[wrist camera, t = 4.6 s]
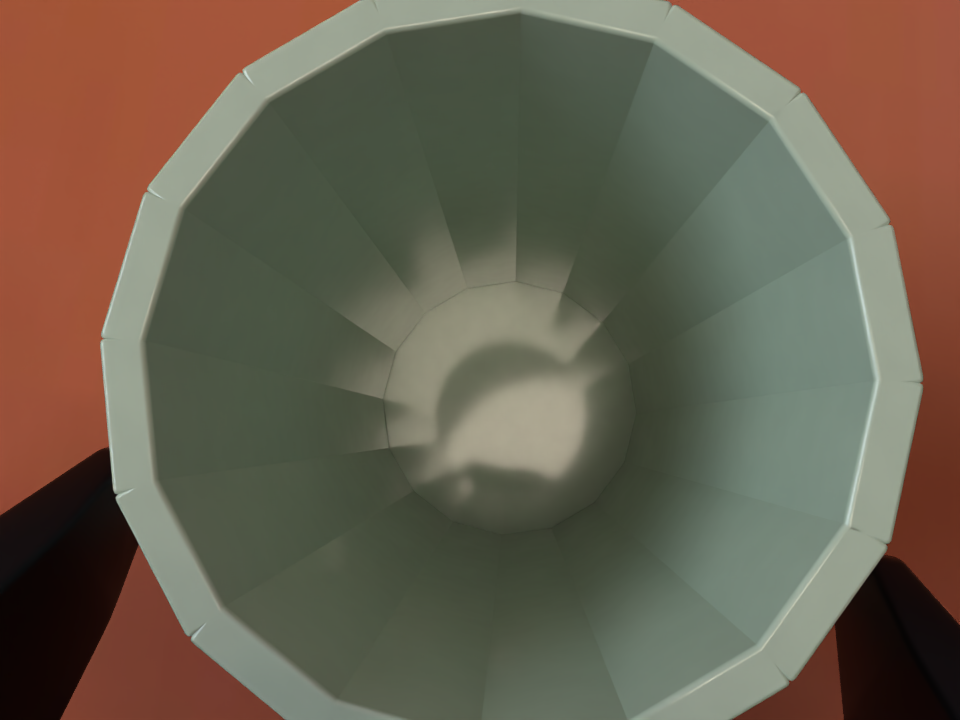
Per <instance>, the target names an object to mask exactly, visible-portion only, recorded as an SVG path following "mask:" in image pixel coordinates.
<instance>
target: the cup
mask: <svg viewBox="0 0 960 720" xmlns="http://www.w3.org/2000/svg"><path fill="white" fill-rule="evenodd" d="M800 92H801V89H800V88H799V87H798V86H796V85H795V84H793V83H792V82H790V81H789V80H787V79H786V78H785V77H783V76H782V75H780V74H779V73H777V72H776V71H774V70H773V69H771V68H770V67H768V66H767V65H765V64H764V63H762V62H761V61H759V60H758V59H756V58H755V57H753V56H752V55H750V54H749V53H747V52H746V51H745V50H743V49H742V48H740V47H739V46H737V45H736V44H734V43H733V42H731V41H730V40H728V39H727V38H725V37H724V36H722V35H721V34H719V33H718V32H716V31H715V30H713V29H712V28H710V27H709V26H707V25H706V24H704V23H703V22H702V21H700V20H699V19H697V18H696V17H694V16H693V15H691V14H690V13H688V12H687V11H685V10H684V9H682V8H681V7H679V6H677V5H674V6H672V5H671V3H670V2H668V1H664V0H360V1H358V2H356V3H355V4H353V5H351V6H350V7H348V8H346V9H344V10H343V11H341V12H339V13H338V14H336V15H334V16H332V17H331V18H329V19H327V20H325V21H324V22H322V23H320V24H319V25H317V26H315V27H313V28H312V29H310V30H308V31H307V32H305V33H303V34H301V35H300V36H298V37H296V38H295V39H293V40H291V41H289V42H288V43H286V44H284V45H283V46H281V47H279V48H277V49H276V50H274V51H272V52H271V53H269V54H267V55H265V56H264V57H262V58H260V59H258V60H257V61H255V62H253V63H252V64H250V65H248V66H246V67H245V68H244V69H243V74H242V73H238V74H237V75H236V76H235V77H234V79H233V80H232V81H231V82H230V84H229V85H228V86H227V87H226V89H225V90H224V91H223V92H222V94H221V95H220V96H219V97H218V99H217V100H216V101H215V102H214V104H213V105H212V106H211V107H210V109H209V110H208V111H207V113H206V114H205V115H204V116H203V118H202V119H201V120H200V121H199V123H198V124H197V125H196V126H195V128H194V129H193V130H192V131H191V133H190V134H189V135H188V136H187V138H186V139H185V140H184V141H183V143H182V144H181V145H180V146H179V148H178V149H177V150H176V151H175V153H174V154H173V155H172V157H171V158H170V159H169V160H168V162H167V163H166V164H165V165H164V167H163V168H162V169H161V170H160V172H159V173H158V174H157V175H156V177H155V178H154V179H153V180H152V182H151V183H150V184H149V185H148V188H147V190H148V192H145V193H144V195H143V197H142V201H141V204H140V207H139V211H138V214H137V217H136V220H135V224H134V227H133V230H132V234H131V237H130V240H129V244H128V247H127V250H126V253H125V257H124V260H123V263H122V267H121V270H120V273H119V276H118V280H117V283H116V286H115V290H114V293H113V296H112V299H111V303H110V306H109V309H108V313H107V316H106V319H105V322H104V326H103V329H102V332H101V337H102V338H103V340H101V343H100V347H101V359H102V370H103V381H104V393H105V404H106V415H107V427H108V438H109V449H110V461H111V472H112V483H113V491H114V493H115V494H118V495H117V496H116V501H117V503H118V505H119V507H120V509H121V511H122V513H123V515H124V517H125V519H126V521H127V523H128V524H129V526H130V528H131V530H132V532H133V534H134V536H135V538H136V540H137V542H138V544H139V546H140V548H141V549H142V551H143V553H144V555H145V557H146V559H147V561H148V563H149V565H150V567H151V569H152V571H153V573H154V574H155V576H156V578H157V580H158V582H159V584H160V586H161V588H162V590H163V592H164V594H165V596H166V598H167V599H168V601H169V603H170V605H171V607H172V609H173V611H174V613H175V615H176V617H177V619H178V621H179V623H180V624H181V626H182V628H183V630H184V632H185V634H186V635H187V636H189V637H190V636H192V637H191V641H192V643H193V644H195V645H196V646H197V647H198V648H199V649H201V650H202V651H203V652H204V653H206V654H207V655H208V656H209V657H210V658H212V659H213V660H214V661H215V662H216V663H218V664H219V665H220V666H221V667H222V668H224V669H225V670H226V671H227V672H228V673H230V674H231V675H232V676H233V677H234V678H236V679H237V680H238V681H239V682H240V683H242V684H243V685H244V686H245V687H247V688H248V689H249V690H250V691H251V692H253V693H254V694H255V695H256V696H257V697H259V698H260V699H261V700H262V701H263V702H265V703H266V704H267V705H268V706H269V707H271V708H272V709H273V710H274V711H275V712H277V713H278V714H279V715H280V716H281V717H283V718H284V719H285V720H732V719H734V718H735V717H737V716H739V715H740V714H742V713H744V712H745V711H747V710H749V709H750V708H752V707H754V706H756V705H757V704H759V703H761V702H762V701H764V700H766V699H767V698H769V697H771V696H772V695H774V694H776V693H777V692H779V691H781V690H782V689H784V688H786V687H787V686H788V685H789V680H790V681H793V680H794V679H796V677H797V676H798V675H799V673H800V672H801V670H802V669H803V668H804V666H805V665H806V663H807V662H808V661H809V659H810V658H811V656H812V655H813V654H814V652H815V651H816V649H817V648H818V646H819V645H820V644H821V642H822V641H823V639H824V638H825V637H826V635H827V634H828V632H829V631H830V630H831V628H832V627H833V625H834V624H835V623H836V621H837V620H838V618H839V617H840V616H841V614H842V613H843V611H844V610H845V609H846V607H847V606H848V604H849V603H850V602H851V600H852V599H853V597H854V596H855V595H856V593H857V592H858V590H859V589H860V587H861V586H862V585H863V583H864V582H865V580H866V579H867V578H868V576H869V575H870V573H871V572H872V571H873V569H874V568H875V566H876V565H877V564H878V562H879V561H880V559H881V558H882V557H883V555H884V554H885V552H886V551H887V548H888V547H887V545H886V544H889V543H890V542H891V540H892V535H893V530H894V525H895V521H896V516H897V511H898V506H899V502H900V497H901V492H902V487H903V483H904V478H905V473H906V469H907V464H908V459H909V454H910V450H911V445H912V440H913V435H914V431H915V426H916V421H917V416H918V412H919V407H920V402H921V397H922V393H923V385H922V384H920V383H921V382H922V381H923V373H922V368H921V363H920V358H919V353H918V348H917V343H916V338H915V333H914V328H913V323H912V318H911V313H910V308H909V303H908V298H907V293H906V288H905V283H904V278H903V273H902V267H901V262H900V257H899V252H898V247H897V242H896V237H895V232H894V228H893V226H892V225H889V223H890V218H889V217H888V215H887V214H886V212H885V211H884V209H883V208H882V206H881V205H880V203H879V202H878V200H877V199H876V197H875V196H874V194H873V193H872V191H871V190H870V188H869V187H868V185H867V184H866V183H865V181H864V180H863V178H862V177H861V175H860V174H859V172H858V171H857V169H856V168H855V166H854V165H853V163H852V162H851V160H850V159H849V157H848V156H847V154H846V153H845V151H844V150H843V148H842V147H841V145H840V144H839V142H838V141H837V139H836V138H835V136H834V135H833V133H832V132H831V130H830V129H829V127H828V126H827V124H826V123H825V121H824V120H823V118H822V117H821V116H820V114H819V113H818V111H817V110H816V108H815V107H814V105H813V104H812V102H811V101H810V99H809V98H808V96H807V95H806V94H805V93H801V94H800Z"/></svg>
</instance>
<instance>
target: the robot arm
mask: <svg viewBox="0 0 960 720" xmlns="http://www.w3.org/2000/svg"><path fill="white" fill-rule="evenodd" d="M117 495H118V494H115V493H114V491H113V483H112V472H111V461H110V449H109V447H107V448H103V449H101V450H99V451H97V452H95V453H94V454H92V455H91V456H89V457H88V458H86V459H85V460H83V461H82V462H80V463H79V464H77V465H76V466H74V467H73V468H71V469H70V470H68V471H67V472H65V473H64V474H62V475H61V476H59V477H58V478H56V479H55V480H53V481H52V482H50V483H49V484H47V485H46V486H44V487H43V488H41V489H40V490H38V491H37V492H35V493H34V494H32V495H31V496H29V497H27V498H26V499H24V500H23V501H21V502H20V503H18V504H17V505H15V506H14V507H12V508H11V509H9V510H8V511H6V512H5V513H3V514H2V515H0V720H60V719H61V717H62V715H63V713H64V711H65V709H66V707H67V705H68V703H69V701H70V699H71V697H72V695H73V693H74V691H75V689H76V687H77V685H78V683H79V681H80V679H81V677H82V675H83V673H84V671H85V669H86V667H87V665H88V663H89V661H90V659H91V657H92V655H93V653H94V651H95V649H96V647H97V645H98V643H99V641H100V639H101V637H102V635H103V633H104V631H105V629H106V627H107V624H108V622H109V620H110V618H111V616H112V613H113V611H114V608H115V606H116V603H117V601H118V598H119V595H120V593H121V590H122V587H123V585H124V582H125V579H126V577H127V574H128V571H129V569H130V566H131V563H132V561H133V558H134V555H135V553H136V550H137V547H138V545H139V544H138V542H137V540H136V538H135V536H134V534H133V532H132V530H131V528H130V526H129V524H128V523H127V521H126V519H125V517H124V515H123V513H122V511H121V509H120V507H119V505H118V503H117V501H116V496H117ZM835 630H836V641H837V651H838V662H839V672H840V683H841V693H842V704H843V714H844V720H960V625H959V624H958V623H957V622H956V620H955V619H954V618H953V617H952V616H951V615H950V614H949V613H948V611H947V610H946V609H945V608H944V607H943V606H942V605H941V604H940V602H939V601H938V600H937V599H936V598H935V597H934V596H933V595H932V593H931V592H930V591H929V590H928V589H927V588H926V587H925V586H924V584H923V583H922V582H921V581H920V580H919V579H918V578H917V577H916V575H915V574H914V573H913V572H912V571H911V570H910V569H909V568H908V566H907V565H906V564H905V563H904V562H902V561H901V560H900V559H898V558H896V557H892V556H886V555H883V557H882V558H881V559H880V561H879V562H878V564H877V565H876V566H875V568H874V569H873V571H872V572H871V573H870V575H869V576H868V578H867V579H866V580H865V582H864V583H863V585H862V586H861V587H860V589H859V590H858V592H857V593H856V595H855V596H854V597H853V599H852V600H851V602H850V603H849V604H848V606H847V607H846V609H845V610H844V611H843V613H842V614H841V616H840V617H839V618H838V620H837V621H836V623H835Z"/></svg>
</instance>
